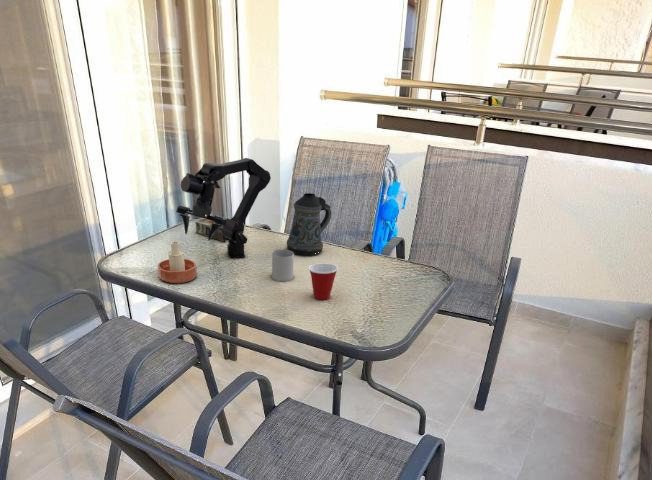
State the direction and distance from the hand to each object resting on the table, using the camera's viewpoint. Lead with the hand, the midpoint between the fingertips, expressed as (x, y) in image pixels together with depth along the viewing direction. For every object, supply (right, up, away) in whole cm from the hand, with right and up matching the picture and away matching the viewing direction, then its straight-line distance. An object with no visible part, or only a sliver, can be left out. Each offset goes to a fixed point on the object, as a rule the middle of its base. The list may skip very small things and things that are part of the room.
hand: (197, 237), depth 201 cm
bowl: (-7, -17, -4) cm, 18 cm away
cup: (+34, -16, +2) cm, 37 cm away
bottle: (-6, -16, -4) cm, 18 cm away
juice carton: (0, +11, +40) cm, 42 cm away
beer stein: (+43, +2, +31) cm, 53 cm away
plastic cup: (+49, -25, -12) cm, 56 cm away
